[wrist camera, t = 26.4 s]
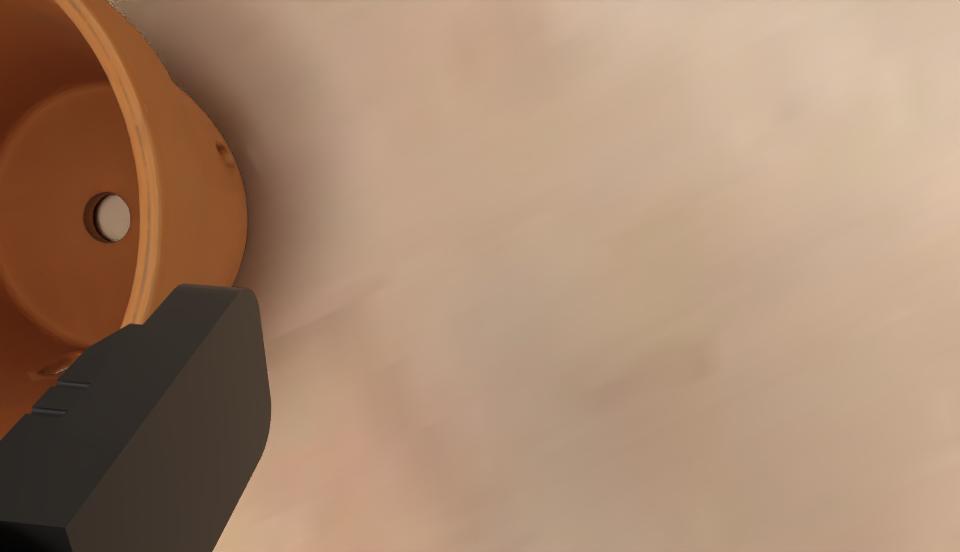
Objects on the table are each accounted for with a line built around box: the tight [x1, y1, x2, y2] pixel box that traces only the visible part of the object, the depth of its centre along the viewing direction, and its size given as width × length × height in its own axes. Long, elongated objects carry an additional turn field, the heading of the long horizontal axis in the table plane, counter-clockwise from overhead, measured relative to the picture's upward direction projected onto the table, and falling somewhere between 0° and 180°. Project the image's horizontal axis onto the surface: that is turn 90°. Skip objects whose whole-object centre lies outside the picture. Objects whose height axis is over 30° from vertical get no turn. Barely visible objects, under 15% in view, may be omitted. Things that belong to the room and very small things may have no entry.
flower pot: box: [0, 0, 248, 440], centre depth 36 cm, size 21×21×15 cm
